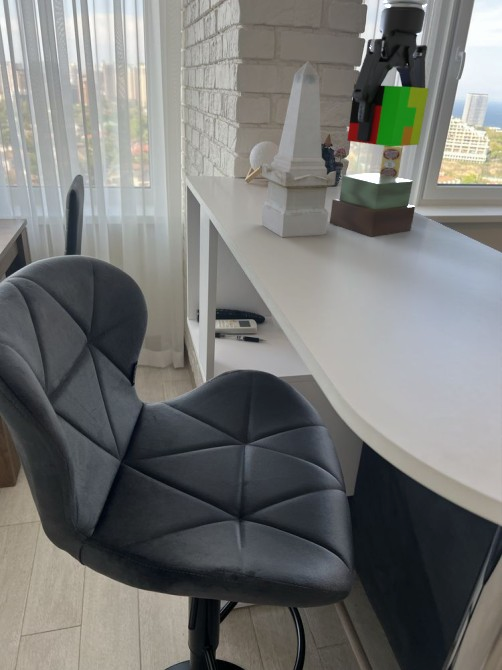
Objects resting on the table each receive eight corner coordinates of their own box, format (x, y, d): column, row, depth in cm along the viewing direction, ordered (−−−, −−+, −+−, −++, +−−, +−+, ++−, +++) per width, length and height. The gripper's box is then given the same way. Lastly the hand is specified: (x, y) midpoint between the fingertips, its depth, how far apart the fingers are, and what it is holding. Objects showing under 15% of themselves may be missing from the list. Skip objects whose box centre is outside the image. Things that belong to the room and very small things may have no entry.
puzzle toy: (375, 139, 106) (383, 86, 102) (418, 144, 100) (428, 88, 95) (347, 140, 100) (354, 84, 95) (391, 146, 93) (401, 86, 89)
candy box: (391, 218, 116) (403, 147, 109) (372, 216, 117) (383, 145, 110) (392, 210, 123) (403, 143, 117) (374, 208, 124) (384, 142, 117)
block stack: (410, 230, 106) (420, 181, 102) (371, 236, 100) (379, 185, 95) (368, 217, 115) (375, 172, 110) (329, 223, 108) (335, 174, 104)
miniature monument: (328, 234, 99) (349, 62, 86) (280, 238, 96) (295, 58, 82) (303, 221, 108) (319, 63, 95) (259, 224, 104) (268, 59, 91)
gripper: (427, 17, 99) (406, 137, 108) (342, 1, 86) (327, 138, 96) (461, 14, 93) (435, 141, 103) (375, -3, 81) (355, 143, 91)
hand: (383, 140), depth 100 cm, fingers closed on puzzle toy, 11 cm apart
